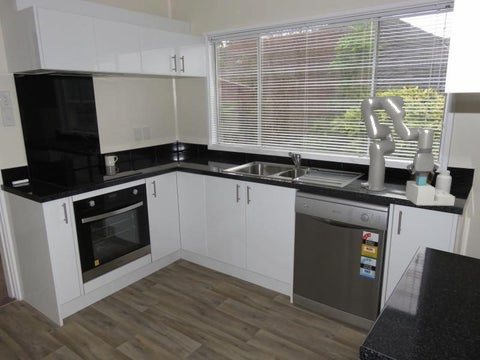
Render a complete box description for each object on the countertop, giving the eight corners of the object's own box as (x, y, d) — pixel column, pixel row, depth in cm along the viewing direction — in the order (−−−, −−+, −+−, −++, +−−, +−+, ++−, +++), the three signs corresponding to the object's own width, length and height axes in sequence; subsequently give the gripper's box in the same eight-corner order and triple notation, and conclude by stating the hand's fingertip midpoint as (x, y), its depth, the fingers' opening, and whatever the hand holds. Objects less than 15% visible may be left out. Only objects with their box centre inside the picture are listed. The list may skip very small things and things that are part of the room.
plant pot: (421, 184, 237) (423, 161, 233) (439, 189, 223) (442, 165, 219) (403, 186, 232) (405, 163, 229) (421, 192, 219) (423, 167, 215)
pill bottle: (445, 197, 207) (448, 172, 204) (432, 194, 214) (434, 170, 210) (451, 194, 212) (454, 170, 208) (438, 192, 218) (441, 168, 215)
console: (416, 205, 193) (418, 188, 191) (405, 197, 209) (407, 181, 206) (453, 205, 192) (456, 188, 189) (439, 197, 207) (441, 181, 205)
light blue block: (417, 192, 197) (419, 173, 195) (414, 190, 201) (416, 171, 199) (425, 192, 197) (427, 173, 194) (421, 190, 201) (424, 171, 198)
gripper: (411, 152, 191) (408, 182, 195) (443, 151, 189) (439, 182, 193) (405, 150, 198) (402, 179, 202) (437, 149, 197) (433, 179, 201)
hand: (421, 180), depth 198 cm, fingers open, 9 cm apart
